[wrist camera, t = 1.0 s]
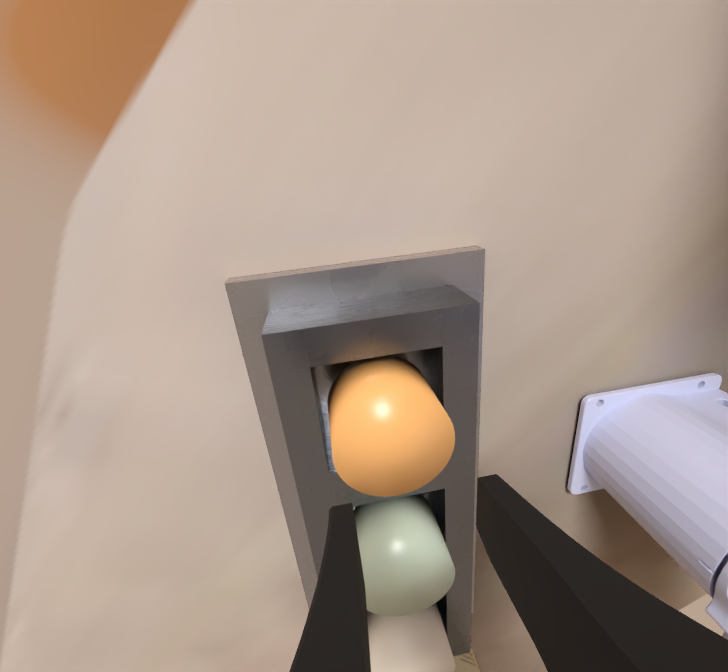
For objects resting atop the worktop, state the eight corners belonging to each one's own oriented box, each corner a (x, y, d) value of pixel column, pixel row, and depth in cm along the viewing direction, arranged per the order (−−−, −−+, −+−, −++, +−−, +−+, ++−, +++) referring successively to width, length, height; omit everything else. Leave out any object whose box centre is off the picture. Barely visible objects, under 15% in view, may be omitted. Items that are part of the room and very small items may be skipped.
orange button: (426, 346, 16) (455, 384, 13) (429, 433, 18) (455, 484, 15) (320, 363, 16) (323, 407, 13) (334, 450, 18) (340, 506, 15)
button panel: (475, 245, 18) (519, 260, 14) (468, 599, 29) (491, 659, 25) (229, 278, 17) (207, 303, 13) (319, 633, 28) (321, 701, 24)
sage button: (431, 481, 19) (455, 537, 16) (433, 542, 21) (455, 603, 18) (342, 498, 19) (350, 559, 16) (353, 559, 21) (361, 625, 18)
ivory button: (434, 578, 22) (455, 640, 19) (436, 624, 24) (455, 687, 21) (358, 594, 22) (367, 662, 19) (366, 640, 24) (375, 708, 21)
